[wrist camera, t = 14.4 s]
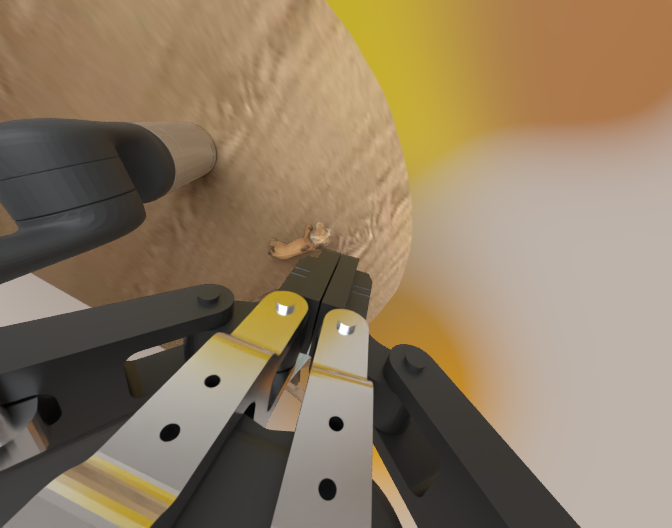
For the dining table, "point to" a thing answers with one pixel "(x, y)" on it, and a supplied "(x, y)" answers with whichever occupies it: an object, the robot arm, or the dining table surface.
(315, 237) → the lion figurine
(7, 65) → the dining table surface
